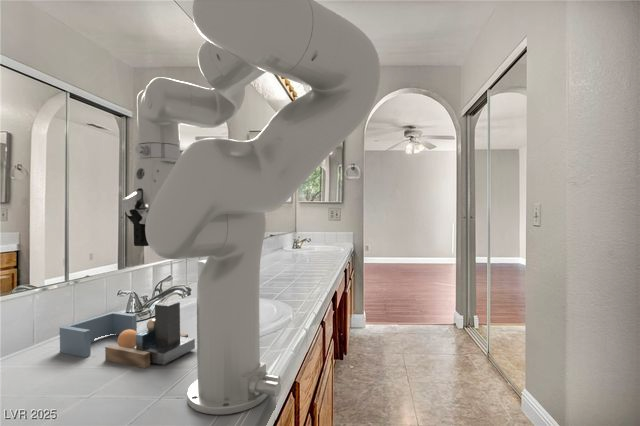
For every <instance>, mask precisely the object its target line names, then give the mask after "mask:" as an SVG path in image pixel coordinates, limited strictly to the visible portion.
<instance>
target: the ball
mask: <svg viewBox="0 0 640 426" xmlns="http://www.w3.org/2000/svg"><path fill="white" fill-rule="evenodd" d="M136 334H139V333H138V331H137V332H136V331H134V330H131V329H129V330H125V331H123V332H122V333H121V334H120V335H119V336H118V337H117V340H116V341H117V346H119V347H125V348H130V349H135V348H136Z"/></svg>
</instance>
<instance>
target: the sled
mask: <svg viewBox="0 0 640 426" xmlns="http://www.w3.org/2000/svg"><path fill="white" fill-rule="evenodd" d="M180 304H181V302H180V301H173V300H164V301H162V302H159V303H155V304H154V318H152V319H149V320H148V321H147V322H146V329H147V330H145V331H141V332H139V333H138V334H136V346H135V350H141V351H146V352H150V363H153V364H159V365H166V364H168V363H170V362H171V361H174V360H175V359H177V358H180V357H181V356H183V355H185V354H187V353H189V352H191V351H193V350H195V348H196V341H195V340H196V339H195V338H192V337H188V338H187V337H181V336H180V333H181V305H180Z"/></svg>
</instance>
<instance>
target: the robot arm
mask: <svg viewBox="0 0 640 426" xmlns="http://www.w3.org/2000/svg"><path fill="white" fill-rule="evenodd" d="M192 18H193V19H192V20H193V23H194V26H195V28H196V30H197V32H198V33H199V34H200V35H201V36H202V37H203V38H204V39H205V40H204V42H203V43H202V44H201V45H200V47H199V49H198V52H197V62H198V68H199V70H200V72H201V74H202V75H203V77H204V79H205V80H206V82H207V83H208V84H209V86H211V87H212V88H208V87H204V86H200V85H197V84H194V83H190V82H185V81H180V80H177V79H172V78H169V77H163V76H161V77H155V78H153V79H152V80H151V81H150V82H149V84H147V85H146V87H145V89H143V90H141V91H140V92H139V93H138V94H137V97H136V108H137V110H136V111H137V146H136V147H135V152H136V153H137V154H138V155H137V157H138V159H137V161H136V162H135V163H136V164H135V169H134V176H133V187H132V189H133V190H132V193H131V194H129V195H127V196H126V197H124V198H122V199H121V200H120V204H121V206H122V208H123V210H124V214H125V216H126V217H127V218H128V219H129V223H130V224H131V225H133V227H132V228H133V246H134V247H149V248H150V249H151V250H152V252H153V253H154V254H156V255H158V256H159V257H161V258H163V259H167V260H187V259H196V258H204V257H207V259H206V260H207V261H206V262H205V264H204V266H203V268H202V270H201V273H200V275H199V279H198V278H197V284H196V338H197V339H196V346H197V347H196V351H197V352H196V353H197V355H196V356H197V359H196V360H197V363H196V364H197V365H196V366H197V368H196V370H197V371H196V372H197V379H196V380H195V381H194V382H192V384H191V385H189V387H188V389H187V391H186V401H187V404H188V406H190V407H191V408H192V409H194V410H195V411H197V412H200V413H203V414H207V415H218V416H219V415H221V416H222V415H231V414H236V413H241V412H244V411H247V410H251V409H252V408H254V407H256V406H258V405H259V404H261V403H262V402H263V401H265V399H267V398H268V396H271V397H278V396H279V395H280V393H281V389H282V385H281V380H282V379H281V375H277V374H268V372H267V363H266V362H264V361H261V360H260V357H261V355H260V354H261V353H260V352H261V351H260V350H261V348H260V342H261V341H260V339H261V337H260V335H261V334H260V331H261V329H260V328H261V327H260V325H261V324H260V281H261V280H260V278H261V277H260V275H261V274H260V273H261V271H260V270H261V258H262V251H263V244H264V240H265V233H266V226H267V225H266V224H267V223H266V219H267V218H266V214H265V213H270V212H274V211H276V210H278V209H280V208H281V207H282V206H284V204H285V203H287V202H288V200H289V199H290V198H291V197H292V196H293V195H295V193H296V192H297V191H298V190H299V188H300V187H301V186H302V185H303V184H304V183H305V182H306V181H307V180H308V179H309V177H310V176H312V174H314V172H315V171H317V169H318V167H319V166H320V165H321V164H322V163H323V162H324V160H326V158H328V157H329V155H331V154H332V152H333V151H335V150H336V149H337V148H338V147H339V146H340V145H341V144H342V143H343V142H344V141H345V140H346V139H348V138H349V137H350V135H352V134H353V133H354V132H355V130H357V128H358V127H359V126H360V125H361V124H362V123H363V121H364V120H365V119H366V118H367V116H368V115H369V113H370V111H371V109H372V108H373V105H374V103H375V101H376V98H377V94H378V91H379V88H380V82H381V81H380V80H381V63H380V58H379V54H378V51H377V49H376V47H375V45H374V43H373V42H372V40H371V39H370V38H369V37H368V35H367V34H366V33H364V31H362V30H361V29H360V28H359V27H358V26H357V25H355V24H354V23H353V22H351V21H349V20H348V19H347V18H345V17H343V16H342V15H340V14H339V13H336V12H335V11H333V10H331V9H329V8H328V7H326V6H324V5H323V4H320V3H319V2H318V1H316V0H193V5H192ZM266 73H269V74H272V75H276V76H278V77H281V78H284V79H287V80H290V81H293V82H296V83H299V84H302V85H305V86H308V87H310V89H309V91H308V92H306V93H304V94H303V95H301V96H300V97H297V98H295V99H294V100H292V101H291V102H288V103H287V104H286V105H284V106H283V107H282V108H280V109H279V110H278V111H277V112H276V113H275V114H274V115H272V117H271V118H270V120H269V121H268V123H266V124H267V125H266V126H265V127H264V128H262V130H261V132H260V133H259V134H258V135H257V136H256V137H254V138H253V139H250V140H236V139H230V138H224V137H223V138H221V137H205V138H201V139H198V140H196V141H194V142H192V143H191V144H189V145H188V146H187V147H186V148H185V149H184V150H183V151H182V152H181V140H180V139H181V137H180V133H181V132H180V125H183V126H190V127H196V128H200V129H214V128H218V127H220V126H221V125H223V124H224V125H225V123H227V122H228V121H230V120H232V119H233V118H235V116H237V115H238V113H239V112H240V110H241V108H242V106H243V102H244V100H245V94H246V87H247V86H248V85H249V84H251V83H253V82H254V81H255V80H257V79H258V78H260V77H262V76H263V75H264V74H266Z"/></svg>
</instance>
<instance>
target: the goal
mask: <svg viewBox="0 0 640 426" xmlns="http://www.w3.org/2000/svg"><path fill="white" fill-rule="evenodd" d="M137 316H138V315H137V314H133V313H129V312H128V313H126V312H119V311H110V312H108V313H104V314H100V315H97V316H94V317H90V318H87V319H83V320H81V321H77V322H74V323H70V324H67V325H64V326H59V352H60V353H62V354H63V353H64V354H68V355H73V356H78V357H80V358H81V357H83V358H86V357H88V356H89V357H90V356H91V344H92V343H94V342H93V341H94V339H95V338H98V337H101V336H105V335H110V334H116V335H120V334H121V333H122V332H123V331H125V330H129V329H131V330H134V331H136V332H137V333H138V331H137V330H138V329H137V328H138V326H137V324H138V322H137V320H138V319H137ZM116 335H115V336H116Z"/></svg>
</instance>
